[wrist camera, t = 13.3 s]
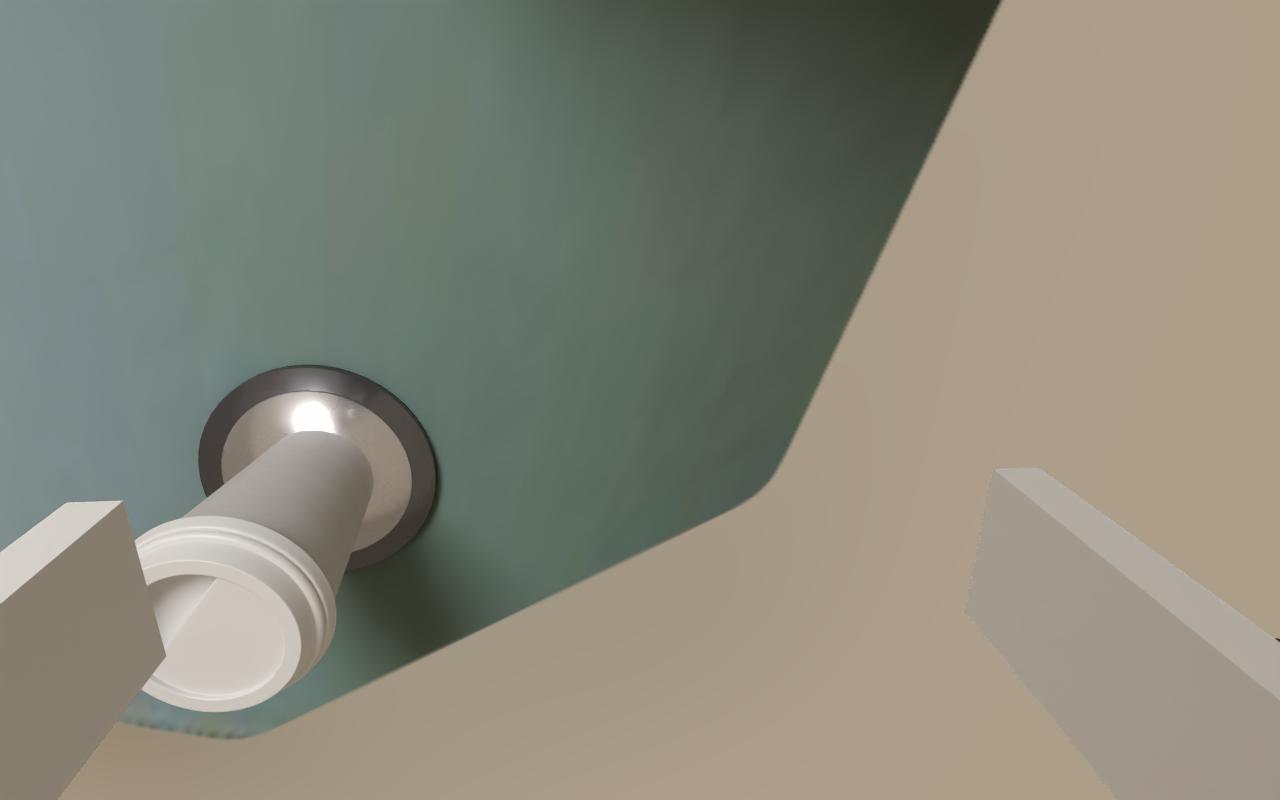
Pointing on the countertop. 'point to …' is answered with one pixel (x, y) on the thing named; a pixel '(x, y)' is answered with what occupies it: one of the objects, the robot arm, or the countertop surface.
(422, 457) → the plate
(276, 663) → the coffee cup
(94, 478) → the countertop surface
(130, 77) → the countertop surface
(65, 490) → the countertop surface
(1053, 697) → the robot arm
